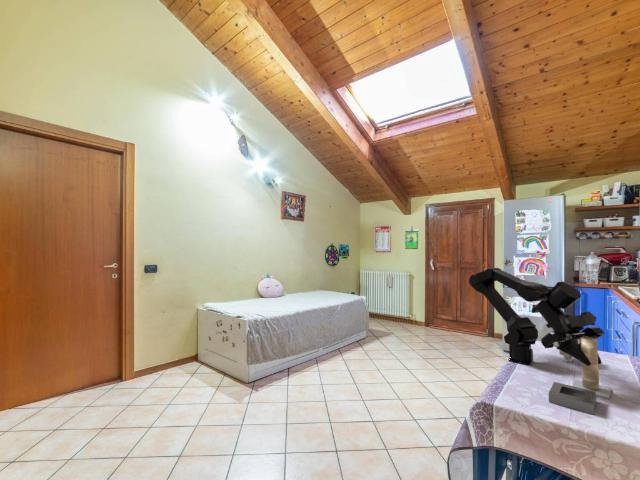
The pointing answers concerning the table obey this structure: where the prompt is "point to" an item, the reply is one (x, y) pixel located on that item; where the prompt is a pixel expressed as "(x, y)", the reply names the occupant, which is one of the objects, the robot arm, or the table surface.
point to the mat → (602, 392)
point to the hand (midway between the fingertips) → (595, 364)
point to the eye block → (573, 397)
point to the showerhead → (563, 353)
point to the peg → (591, 372)
